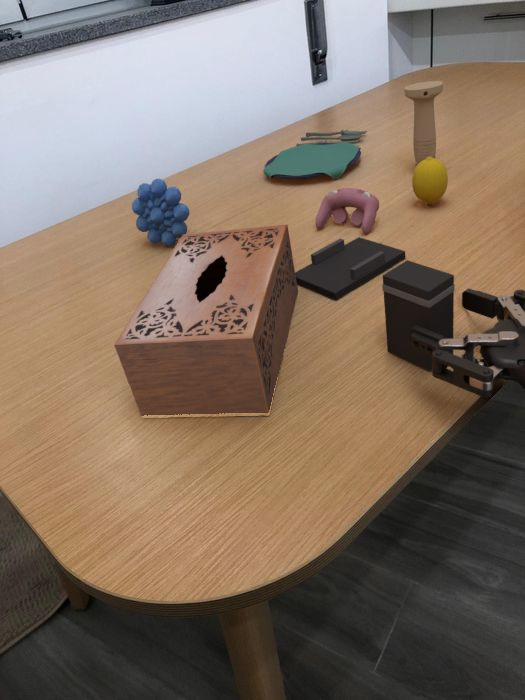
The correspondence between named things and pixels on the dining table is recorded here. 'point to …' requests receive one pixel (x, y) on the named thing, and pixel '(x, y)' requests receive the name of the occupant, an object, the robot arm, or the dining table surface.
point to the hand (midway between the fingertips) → (438, 315)
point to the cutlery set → (316, 157)
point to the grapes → (160, 212)
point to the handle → (424, 117)
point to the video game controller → (348, 198)
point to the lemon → (430, 180)
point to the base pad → (346, 266)
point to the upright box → (417, 307)
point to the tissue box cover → (213, 324)
